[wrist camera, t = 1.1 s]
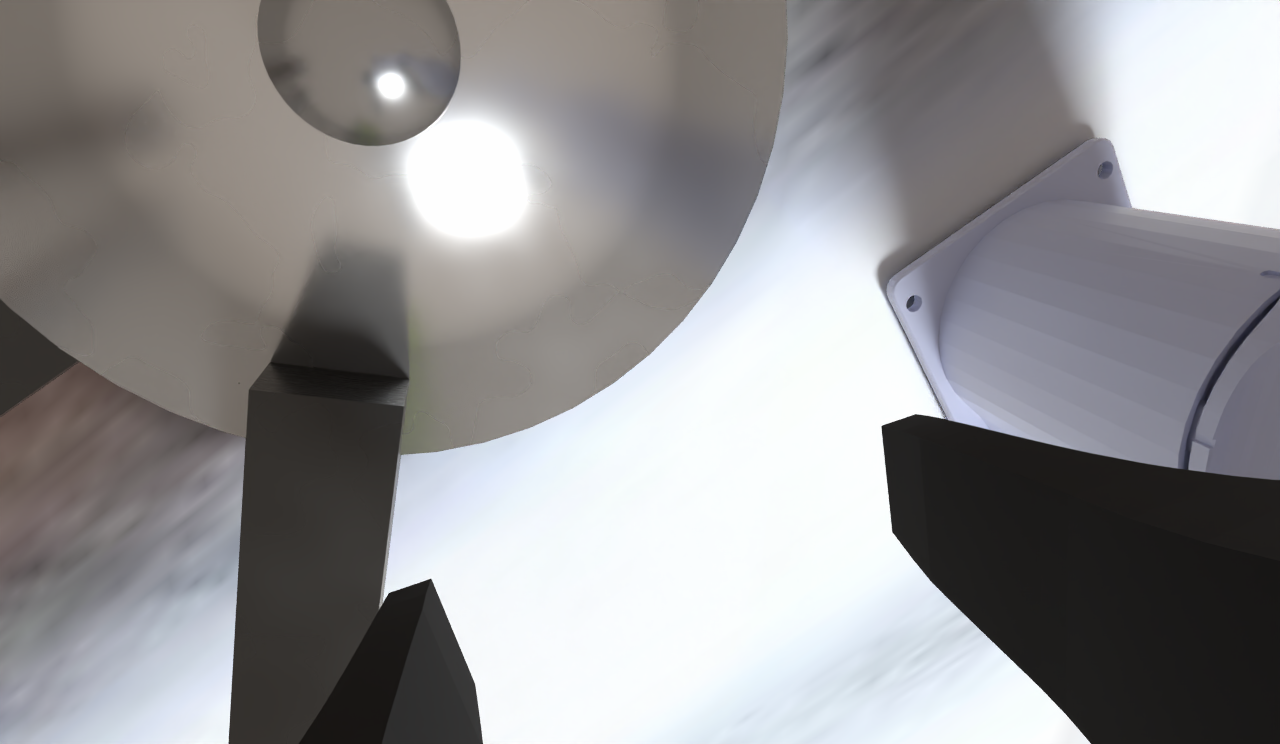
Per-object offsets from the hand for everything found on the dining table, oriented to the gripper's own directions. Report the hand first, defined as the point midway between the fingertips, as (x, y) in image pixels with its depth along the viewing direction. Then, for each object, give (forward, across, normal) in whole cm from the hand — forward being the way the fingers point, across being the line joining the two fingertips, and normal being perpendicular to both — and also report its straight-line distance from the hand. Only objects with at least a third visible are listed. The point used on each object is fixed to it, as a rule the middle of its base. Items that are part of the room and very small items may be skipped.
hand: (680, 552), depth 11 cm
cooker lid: (+5, +3, -5) cm, 8 cm away
